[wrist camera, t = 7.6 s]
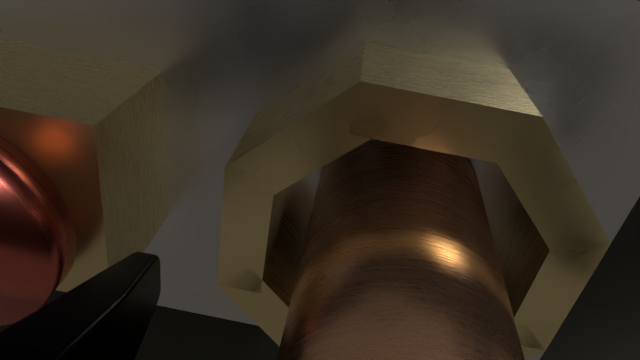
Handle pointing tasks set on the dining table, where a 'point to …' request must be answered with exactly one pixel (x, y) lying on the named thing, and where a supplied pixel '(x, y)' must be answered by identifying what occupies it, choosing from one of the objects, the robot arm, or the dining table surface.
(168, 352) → the dining table surface
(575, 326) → the dining table surface
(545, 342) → the panel with octagonal sockets
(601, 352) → the dining table surface
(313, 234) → the pipe stub
